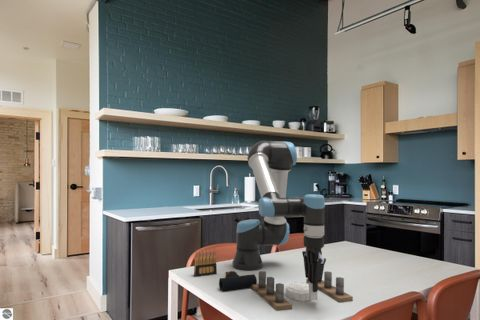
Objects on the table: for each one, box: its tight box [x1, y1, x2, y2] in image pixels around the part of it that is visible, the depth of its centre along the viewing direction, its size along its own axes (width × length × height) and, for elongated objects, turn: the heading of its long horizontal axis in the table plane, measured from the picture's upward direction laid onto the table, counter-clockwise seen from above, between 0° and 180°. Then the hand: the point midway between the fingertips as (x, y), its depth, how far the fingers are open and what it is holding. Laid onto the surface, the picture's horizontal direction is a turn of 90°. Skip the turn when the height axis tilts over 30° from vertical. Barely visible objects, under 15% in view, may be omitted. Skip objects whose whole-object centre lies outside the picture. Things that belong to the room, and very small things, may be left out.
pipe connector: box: [218, 270, 258, 292], centre depth 147 cm, size 12×5×15 cm
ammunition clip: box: [193, 248, 218, 278], centre depth 161 cm, size 11×2×12 cm, turn 117°
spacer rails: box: [251, 270, 354, 312], centre depth 138 cm, size 24×32×8 cm
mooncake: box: [285, 282, 310, 302], centre depth 137 cm, size 12×12×4 cm
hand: (313, 299), depth 129 cm, fingers closed
